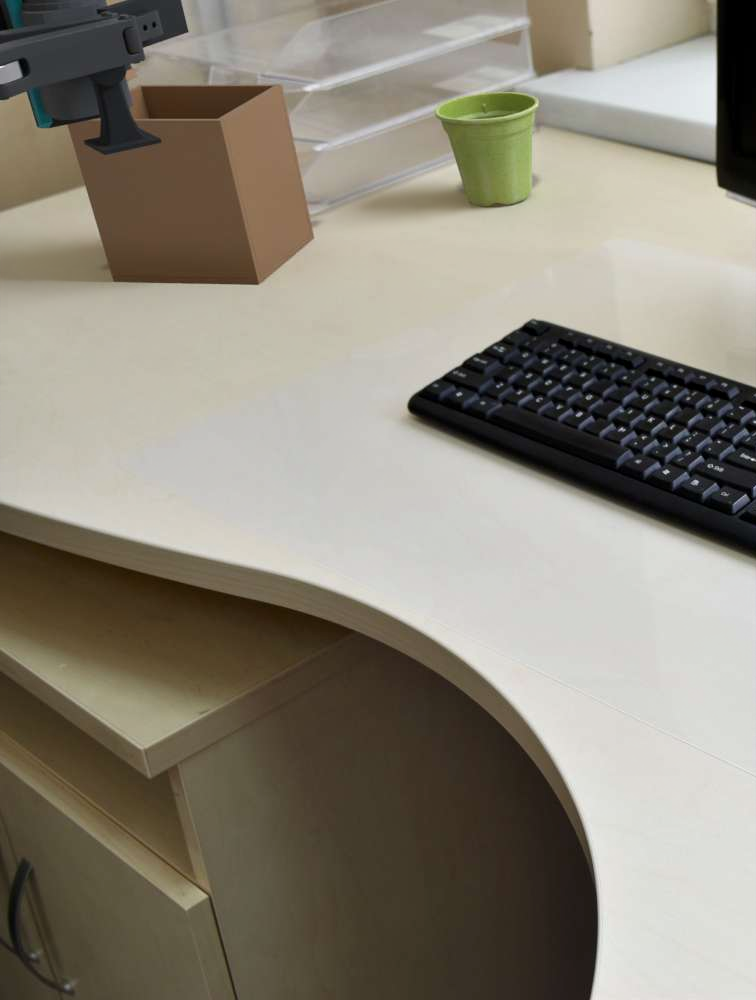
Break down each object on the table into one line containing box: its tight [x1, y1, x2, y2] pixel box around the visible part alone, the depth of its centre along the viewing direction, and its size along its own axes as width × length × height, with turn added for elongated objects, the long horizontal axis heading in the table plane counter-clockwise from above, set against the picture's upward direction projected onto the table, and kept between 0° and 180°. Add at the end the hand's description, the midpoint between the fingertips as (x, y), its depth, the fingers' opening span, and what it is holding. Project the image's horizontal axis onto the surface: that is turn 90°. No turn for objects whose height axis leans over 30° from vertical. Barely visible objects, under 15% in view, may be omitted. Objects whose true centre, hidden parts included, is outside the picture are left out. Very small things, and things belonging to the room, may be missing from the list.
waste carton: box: [67, 83, 315, 285], centre depth 115 cm, size 13×11×14 cm
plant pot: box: [434, 91, 540, 207], centre depth 128 cm, size 9×9×9 cm
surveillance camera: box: [0, 0, 162, 155], centre depth 86 cm, size 6×12×10 cm
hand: (112, 7), depth 89 cm, fingers closed on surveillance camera, 10 cm apart
